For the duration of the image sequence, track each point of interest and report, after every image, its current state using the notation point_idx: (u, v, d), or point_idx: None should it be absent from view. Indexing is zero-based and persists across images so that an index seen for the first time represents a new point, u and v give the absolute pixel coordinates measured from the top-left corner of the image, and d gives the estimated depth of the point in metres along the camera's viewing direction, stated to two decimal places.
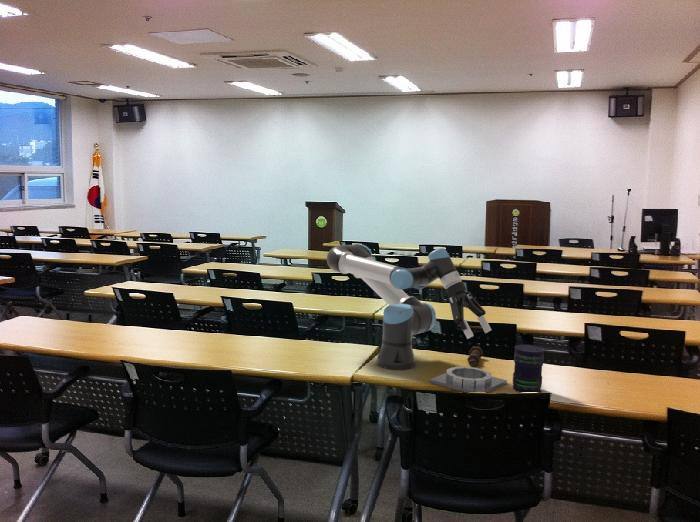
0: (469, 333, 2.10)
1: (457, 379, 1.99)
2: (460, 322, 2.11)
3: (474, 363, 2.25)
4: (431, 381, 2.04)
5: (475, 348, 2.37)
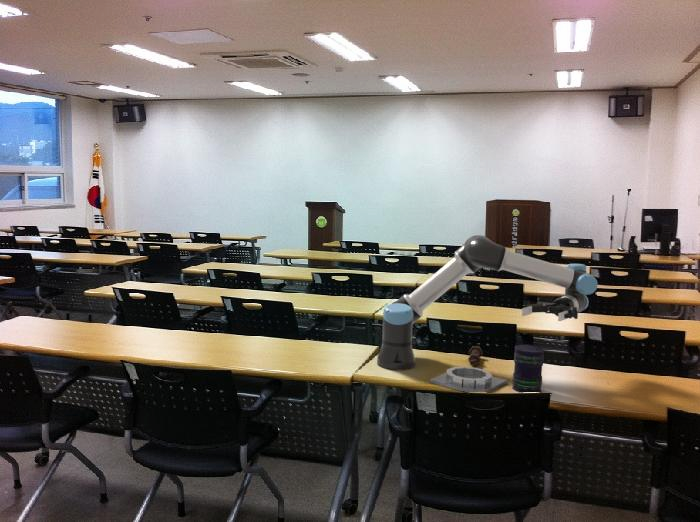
0: (562, 318, 2.01)
1: (457, 379, 1.99)
2: (571, 315, 2.03)
3: (475, 363, 2.25)
4: (431, 381, 2.04)
5: (475, 348, 2.38)
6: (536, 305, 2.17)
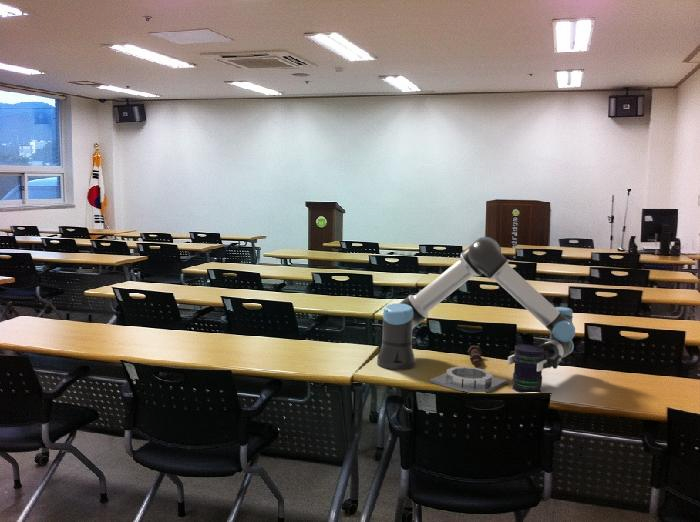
0: (540, 368, 1.94)
1: (457, 379, 1.99)
2: (549, 364, 1.96)
3: (478, 363, 2.25)
4: (431, 381, 2.04)
5: (474, 347, 2.38)
6: None
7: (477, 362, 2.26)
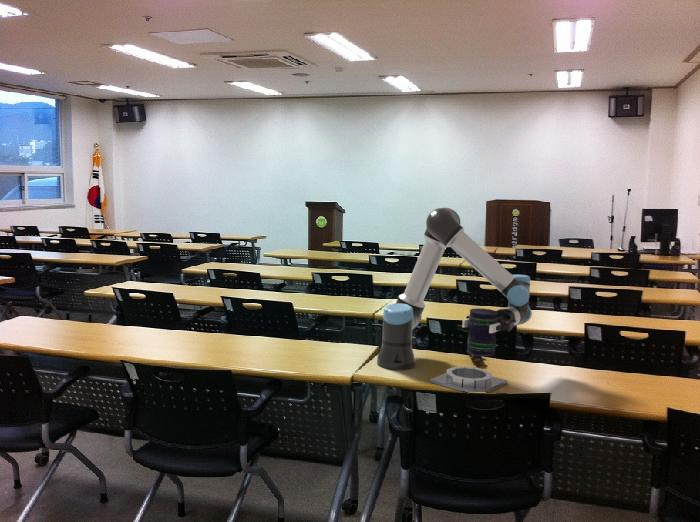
0: (493, 330, 1.97)
1: (457, 379, 1.99)
2: (503, 327, 1.99)
3: (480, 362, 2.26)
4: (431, 381, 2.04)
5: None
6: None
7: (478, 362, 2.26)
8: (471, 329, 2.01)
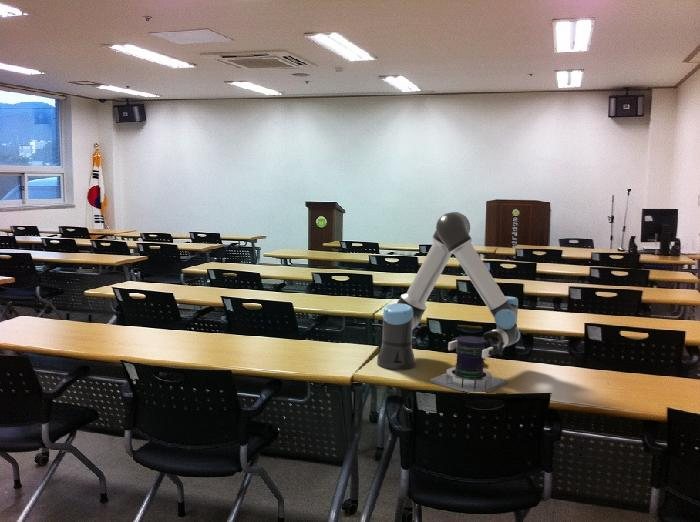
0: (485, 355, 1.98)
1: (457, 379, 1.99)
2: (495, 351, 2.01)
3: None
4: (431, 381, 2.04)
5: None
6: None
7: None
8: (458, 357, 2.03)
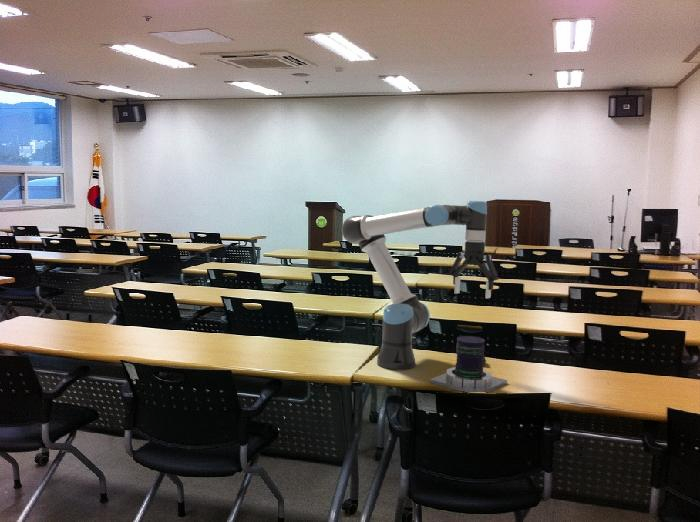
0: (489, 294, 2.17)
1: (457, 379, 1.99)
2: (492, 282, 2.16)
3: (484, 362, 2.27)
4: (431, 381, 2.04)
5: None
6: (456, 264, 2.24)
7: None
8: (458, 357, 2.03)
